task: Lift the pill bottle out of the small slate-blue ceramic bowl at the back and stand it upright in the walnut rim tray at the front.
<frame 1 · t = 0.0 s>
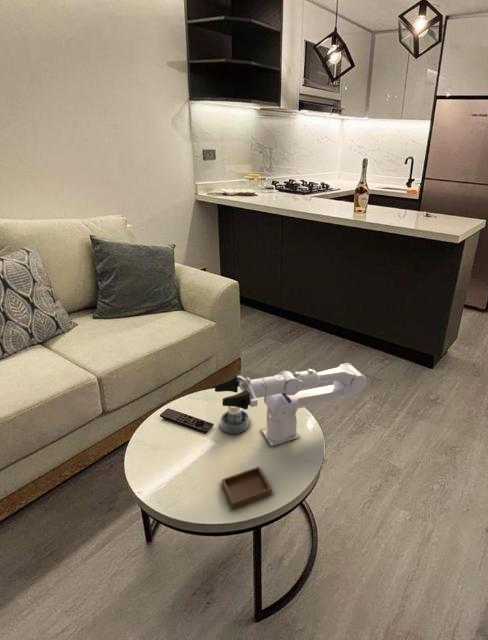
hand: (218, 395, 119), 22 cm above the table, tool horizontal, fingers open, 7 cm apart
pill bottle: (235, 424, 139), resting on bowl
bowl: (235, 425, 139), on the table
tray: (246, 489, 114), on the table
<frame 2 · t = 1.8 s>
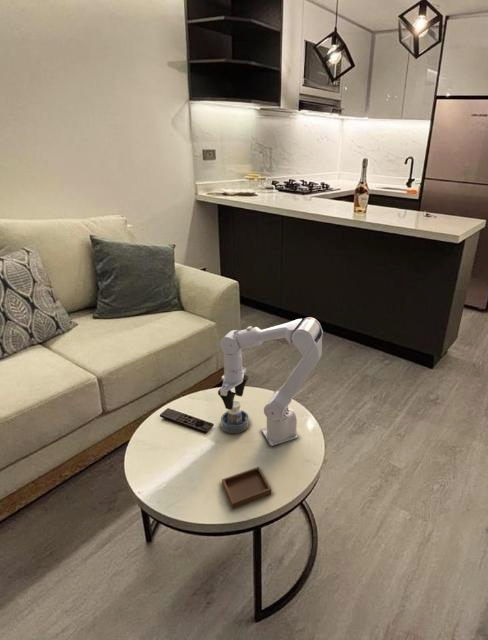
hand: (234, 401, 136), 10 cm above the table, tool pointing down, fingers open, 7 cm apart
nothing on the table moved.
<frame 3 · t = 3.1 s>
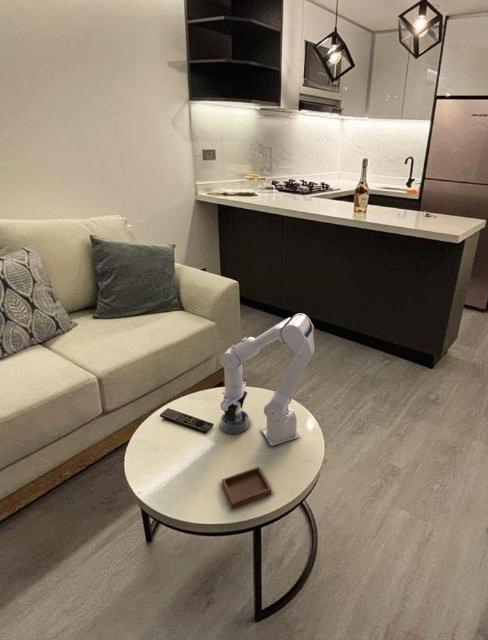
hand: (234, 415, 138), 4 cm above the table, tool pointing down, fingers closed on pill bottle, 5 cm apart
pill bottle: (235, 424, 139), resting on bowl, touching gripper
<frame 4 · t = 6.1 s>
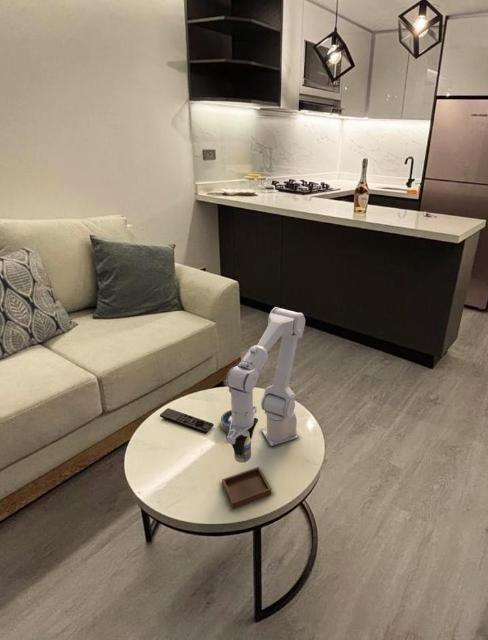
hand: (243, 447, 115), 10 cm above the table, tool pointing down, fingers closed on pill bottle, 5 cm apart
pill bottle: (242, 457, 116), point 7 cm above the table, touching gripper
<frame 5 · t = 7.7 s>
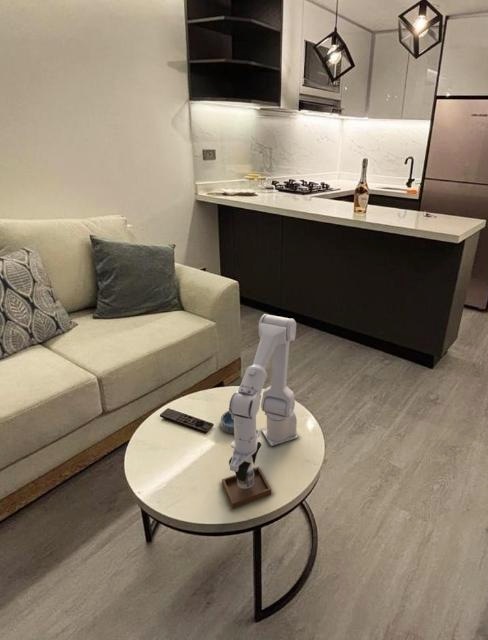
hand: (246, 472, 112), 6 cm above the table, tool pointing down, fingers closed on pill bottle, 5 cm apart
pill bottle: (245, 482, 113), point 2 cm above the table, touching gripper
when the fingers open (4 cm above the table, at t = 8.9 s): pill bottle stays where it is, resting on tray.
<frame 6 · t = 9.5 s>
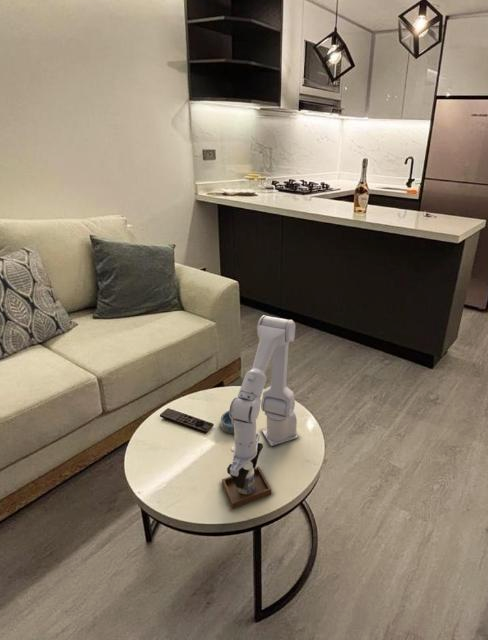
hand: (246, 476, 113), 5 cm above the table, tool pointing down, fingers open, 7 cm apart
pill bottle: (245, 488, 114), resting on tray
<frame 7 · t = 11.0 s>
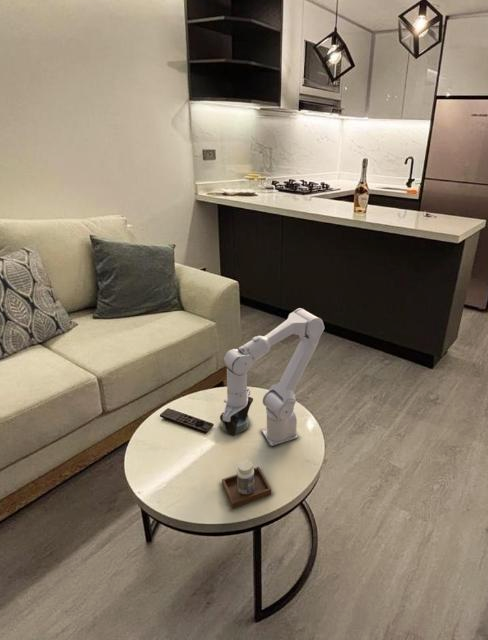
hand: (237, 426, 123), 10 cm above the table, tool pointing down, fingers open, 7 cm apart
nothing on the table moved.
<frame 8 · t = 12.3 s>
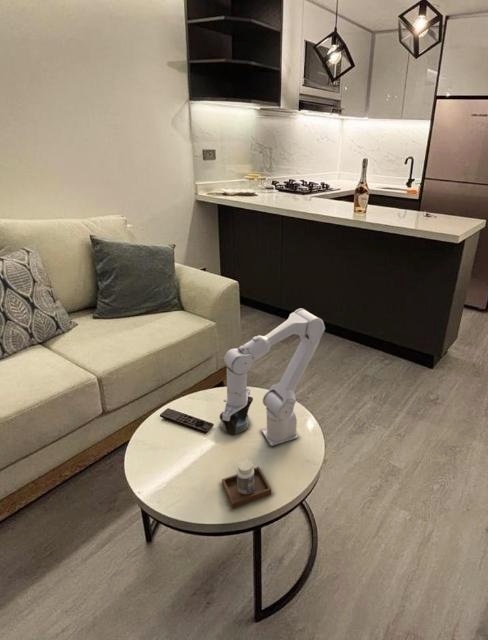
hand: (237, 426, 123), 10 cm above the table, tool pointing down, fingers open, 7 cm apart
nothing on the table moved.
at the end: pill bottle inside the target area in the tray (0.1 cm from its centre), point 0.2 cm above the tray's base; pill bottle tilted 0° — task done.
